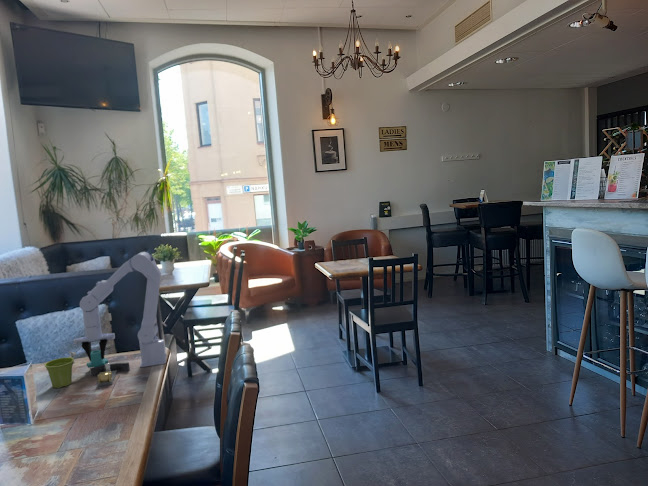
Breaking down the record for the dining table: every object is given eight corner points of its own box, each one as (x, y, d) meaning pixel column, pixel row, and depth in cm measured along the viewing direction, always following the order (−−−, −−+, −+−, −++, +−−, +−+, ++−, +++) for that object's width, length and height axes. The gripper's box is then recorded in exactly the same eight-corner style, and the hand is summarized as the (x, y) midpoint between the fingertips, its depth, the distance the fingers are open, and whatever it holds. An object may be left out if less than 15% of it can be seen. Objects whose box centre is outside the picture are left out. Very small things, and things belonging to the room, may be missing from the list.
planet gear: (109, 359, 196) (108, 347, 195) (106, 365, 188) (104, 353, 188) (89, 362, 194) (87, 350, 193) (85, 368, 186) (83, 356, 186)
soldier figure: (51, 374, 193) (60, 355, 204) (63, 379, 195) (70, 361, 206) (63, 360, 192) (70, 342, 203) (74, 366, 194) (81, 348, 205)
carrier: (130, 368, 190) (128, 356, 189) (125, 382, 176) (123, 368, 175) (91, 374, 186) (90, 361, 186) (83, 388, 172) (81, 374, 172)
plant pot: (82, 379, 181) (79, 356, 180) (66, 389, 172) (63, 366, 171) (58, 380, 182) (55, 357, 181) (41, 390, 173) (38, 367, 172)
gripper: (114, 320, 195) (118, 353, 197) (74, 325, 191) (79, 359, 193) (111, 324, 188) (115, 358, 190) (70, 330, 185) (75, 364, 186)
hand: (97, 359), depth 191 cm, fingers closed on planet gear, 4 cm apart
